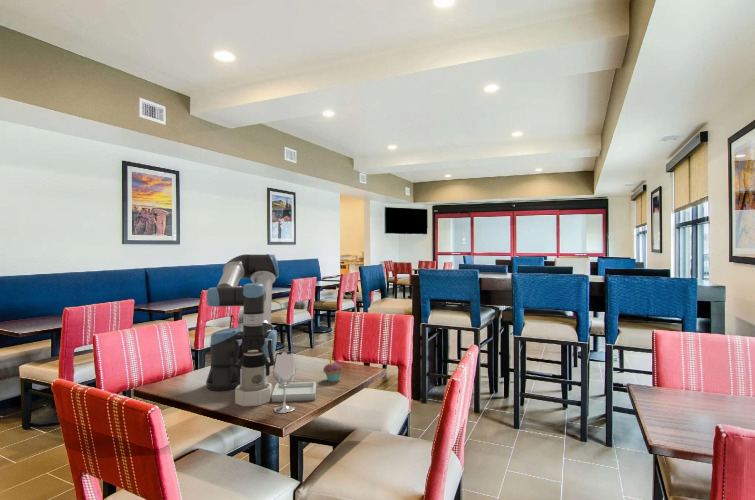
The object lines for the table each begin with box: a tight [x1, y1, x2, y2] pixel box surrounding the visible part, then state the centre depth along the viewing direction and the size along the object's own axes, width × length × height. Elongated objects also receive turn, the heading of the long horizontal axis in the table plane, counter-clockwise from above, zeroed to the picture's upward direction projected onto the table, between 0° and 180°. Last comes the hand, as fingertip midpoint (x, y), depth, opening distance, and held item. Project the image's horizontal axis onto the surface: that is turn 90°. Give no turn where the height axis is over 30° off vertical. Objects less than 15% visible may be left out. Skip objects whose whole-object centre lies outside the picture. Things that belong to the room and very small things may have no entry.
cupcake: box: [323, 352, 344, 382], centre depth 181 cm, size 9×8×12 cm
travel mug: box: [243, 350, 265, 392], centre depth 157 cm, size 8×8×18 cm
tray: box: [271, 381, 317, 403], centre depth 163 cm, size 16×14×2 cm
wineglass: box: [272, 350, 297, 414], centre depth 148 cm, size 8×8×20 cm
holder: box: [234, 381, 273, 407], centre depth 157 cm, size 13×13×5 cm
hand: (253, 384), depth 157 cm, fingers closed on travel mug, 8 cm apart
